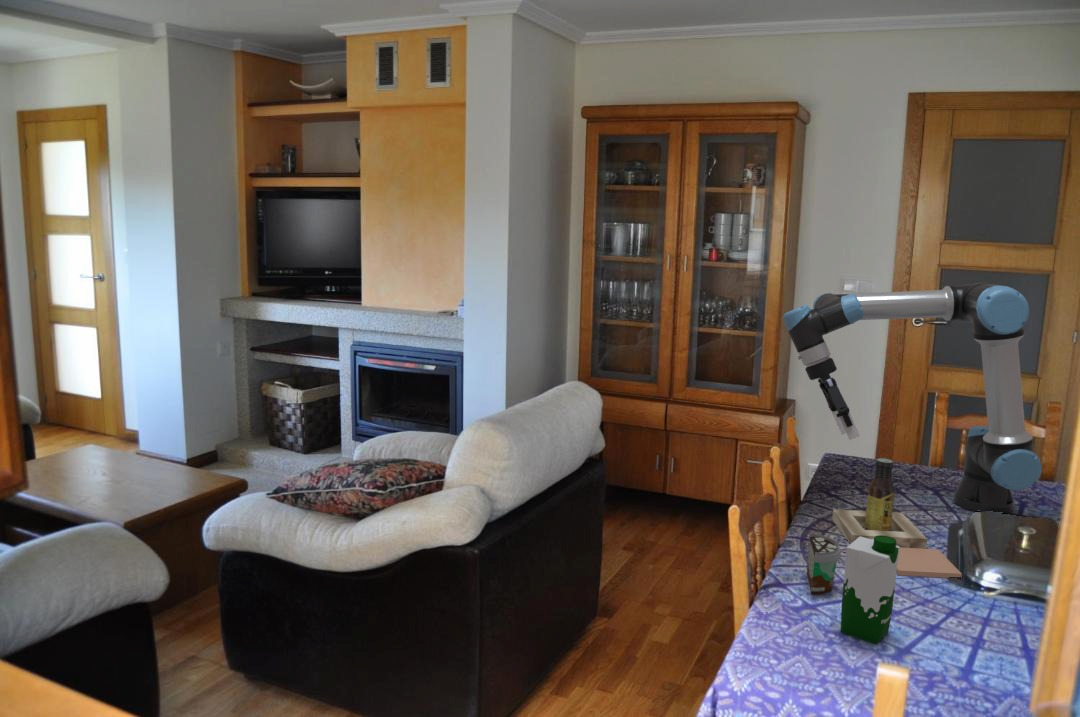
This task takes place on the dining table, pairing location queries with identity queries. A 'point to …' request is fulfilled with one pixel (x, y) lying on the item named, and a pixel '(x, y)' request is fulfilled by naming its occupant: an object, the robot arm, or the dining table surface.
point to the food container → (821, 563)
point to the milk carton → (869, 587)
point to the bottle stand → (900, 526)
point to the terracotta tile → (925, 563)
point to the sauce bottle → (880, 498)
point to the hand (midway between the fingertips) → (850, 435)
